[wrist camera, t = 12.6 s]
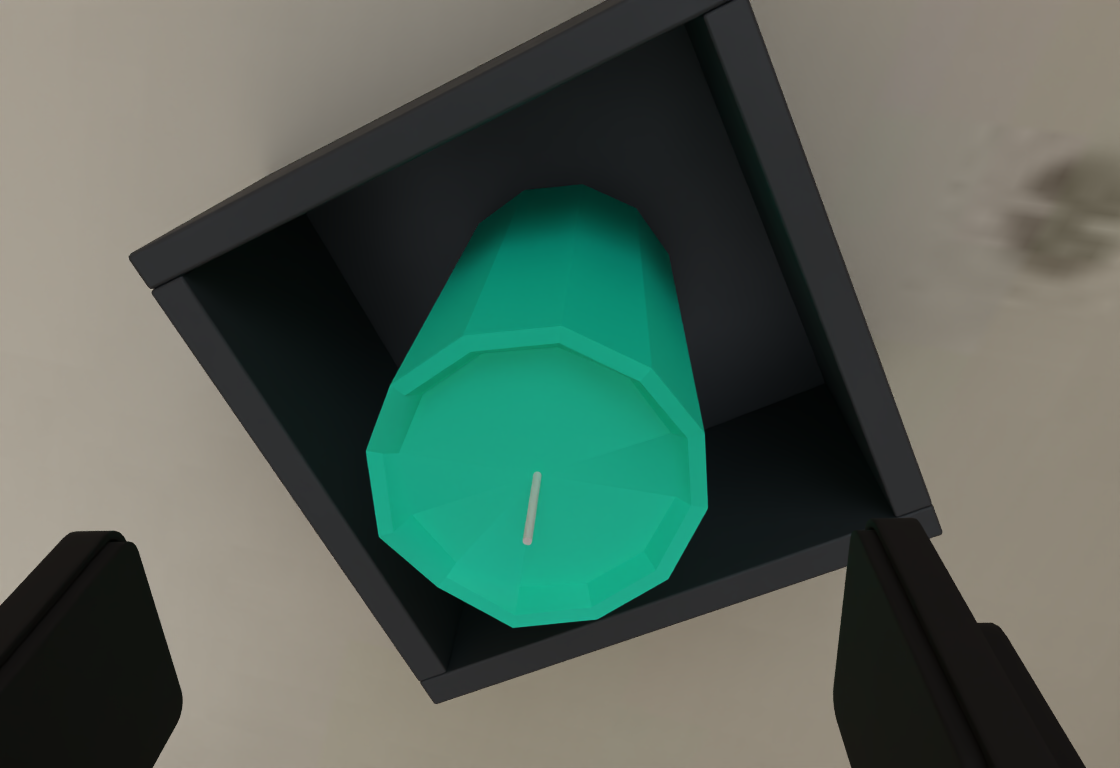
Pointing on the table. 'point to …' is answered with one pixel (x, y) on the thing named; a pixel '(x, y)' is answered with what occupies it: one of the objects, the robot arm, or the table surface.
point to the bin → (435, 248)
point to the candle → (546, 418)
